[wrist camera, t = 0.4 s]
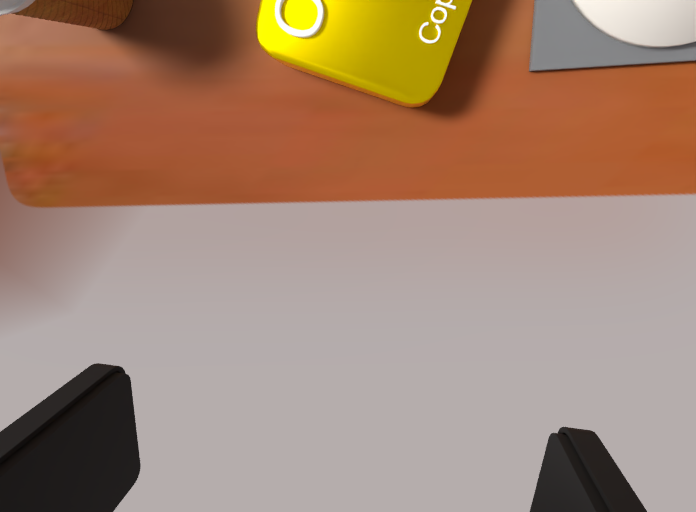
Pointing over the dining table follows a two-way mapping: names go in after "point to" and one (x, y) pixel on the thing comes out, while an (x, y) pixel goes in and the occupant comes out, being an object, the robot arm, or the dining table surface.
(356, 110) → the dining table surface
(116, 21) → the disposable coffee cup
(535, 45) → the mat
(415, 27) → the element tile
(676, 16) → the lid
